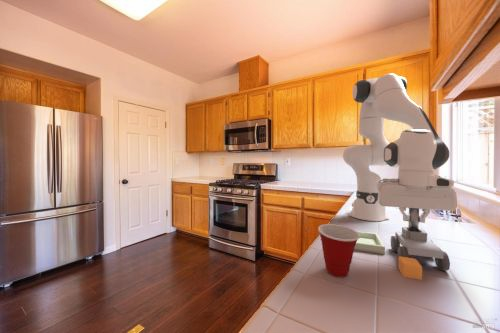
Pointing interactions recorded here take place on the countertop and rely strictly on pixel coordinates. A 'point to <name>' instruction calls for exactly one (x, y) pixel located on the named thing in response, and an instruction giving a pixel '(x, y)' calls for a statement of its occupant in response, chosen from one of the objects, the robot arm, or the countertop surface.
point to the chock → (410, 268)
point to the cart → (418, 247)
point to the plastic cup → (338, 248)
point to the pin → (413, 220)
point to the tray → (369, 243)
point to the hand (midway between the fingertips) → (413, 221)
